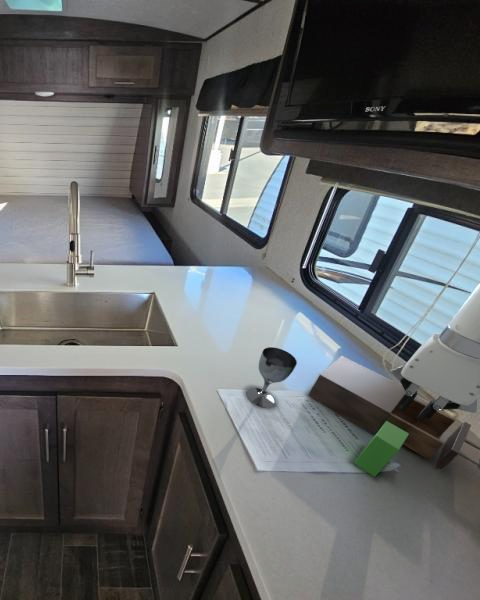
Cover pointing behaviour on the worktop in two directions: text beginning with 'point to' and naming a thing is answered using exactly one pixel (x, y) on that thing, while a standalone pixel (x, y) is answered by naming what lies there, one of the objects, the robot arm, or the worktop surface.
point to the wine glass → (271, 374)
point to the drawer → (431, 433)
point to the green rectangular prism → (381, 448)
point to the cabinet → (357, 393)
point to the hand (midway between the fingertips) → (411, 412)
